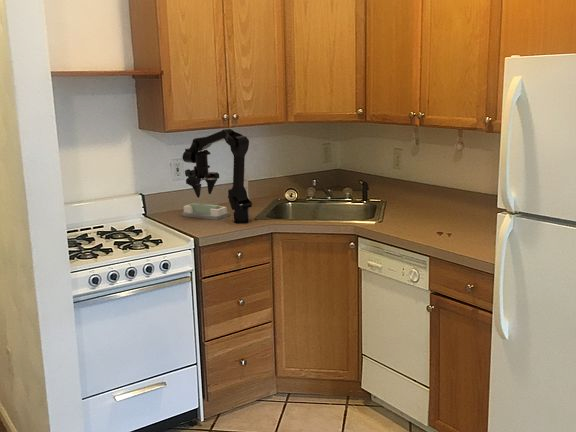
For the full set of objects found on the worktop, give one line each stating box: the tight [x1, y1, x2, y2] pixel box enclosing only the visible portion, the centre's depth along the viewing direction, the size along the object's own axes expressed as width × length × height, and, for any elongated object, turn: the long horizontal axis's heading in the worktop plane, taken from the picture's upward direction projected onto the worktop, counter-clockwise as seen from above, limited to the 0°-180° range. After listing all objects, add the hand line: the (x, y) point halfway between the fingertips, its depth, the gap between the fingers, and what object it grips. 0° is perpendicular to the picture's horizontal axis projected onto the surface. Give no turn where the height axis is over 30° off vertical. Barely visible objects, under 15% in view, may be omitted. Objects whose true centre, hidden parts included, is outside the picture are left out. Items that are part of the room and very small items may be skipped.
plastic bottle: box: [241, 166, 251, 205], centre depth 335 cm, size 6×7×20 cm
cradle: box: [180, 203, 231, 221], centre depth 320 cm, size 22×10×4 cm, turn 58°
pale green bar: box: [189, 202, 221, 214], centre depth 320 cm, size 16×3×4 cm, turn 57°
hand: (204, 195), depth 318 cm, fingers open, 8 cm apart
